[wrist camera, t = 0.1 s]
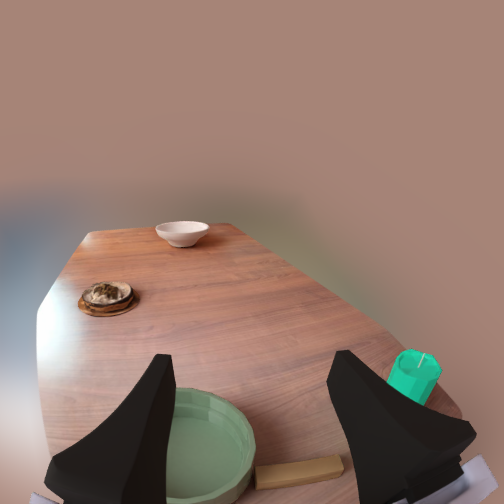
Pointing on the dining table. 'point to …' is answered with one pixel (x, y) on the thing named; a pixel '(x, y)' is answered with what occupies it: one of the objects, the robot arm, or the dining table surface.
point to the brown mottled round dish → (108, 299)
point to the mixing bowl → (208, 450)
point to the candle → (415, 375)
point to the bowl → (182, 232)
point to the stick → (297, 473)
